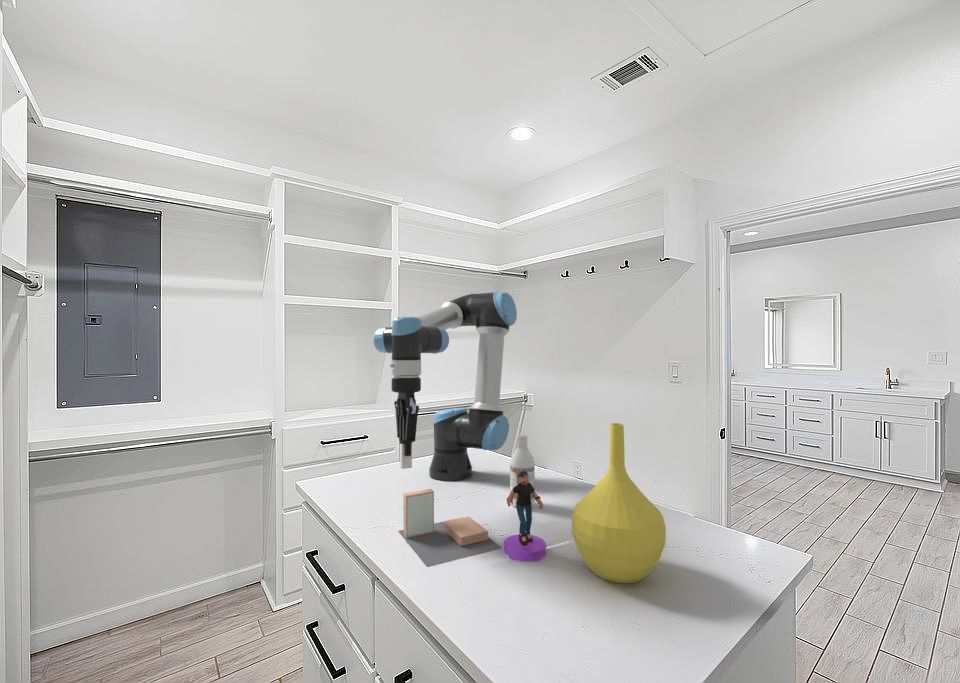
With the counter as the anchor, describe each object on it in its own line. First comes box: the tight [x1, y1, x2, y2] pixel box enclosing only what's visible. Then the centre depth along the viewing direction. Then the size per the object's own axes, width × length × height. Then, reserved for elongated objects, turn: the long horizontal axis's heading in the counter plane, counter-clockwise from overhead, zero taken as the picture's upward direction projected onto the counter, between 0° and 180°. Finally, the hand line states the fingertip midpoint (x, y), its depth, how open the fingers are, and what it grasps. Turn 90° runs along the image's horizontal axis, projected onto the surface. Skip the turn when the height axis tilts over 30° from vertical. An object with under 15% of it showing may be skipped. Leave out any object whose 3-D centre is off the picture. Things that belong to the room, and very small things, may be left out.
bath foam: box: [509, 433, 536, 510], centre depth 128 cm, size 7×7×20 cm
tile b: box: [402, 488, 435, 538], centre depth 108 cm, size 7×2×10 cm, turn 118°
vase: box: [571, 422, 667, 584], centre depth 91 cm, size 18×18×30 cm
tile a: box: [443, 516, 489, 546], centre depth 107 cm, size 7×2×10 cm
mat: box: [397, 516, 503, 568], centre depth 105 cm, size 18×20×1 cm
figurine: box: [503, 471, 547, 563], centre depth 100 cm, size 9×9×18 cm
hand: (405, 467), depth 116 cm, fingers closed
